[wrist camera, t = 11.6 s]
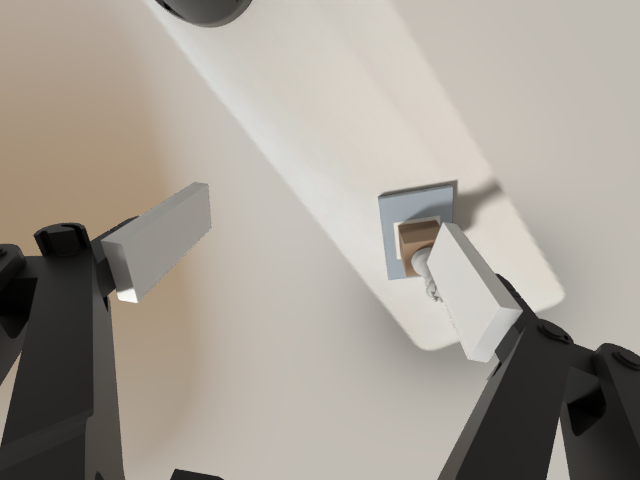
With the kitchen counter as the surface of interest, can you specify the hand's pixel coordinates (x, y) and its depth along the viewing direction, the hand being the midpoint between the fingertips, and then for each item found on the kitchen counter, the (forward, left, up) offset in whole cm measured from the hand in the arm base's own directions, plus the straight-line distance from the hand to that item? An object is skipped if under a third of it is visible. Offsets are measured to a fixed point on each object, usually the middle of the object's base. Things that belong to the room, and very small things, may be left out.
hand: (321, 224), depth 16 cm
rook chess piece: (+18, +10, -22) cm, 30 cm away
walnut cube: (+18, +10, -27) cm, 34 cm away
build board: (+18, +10, -29) cm, 35 cm away
